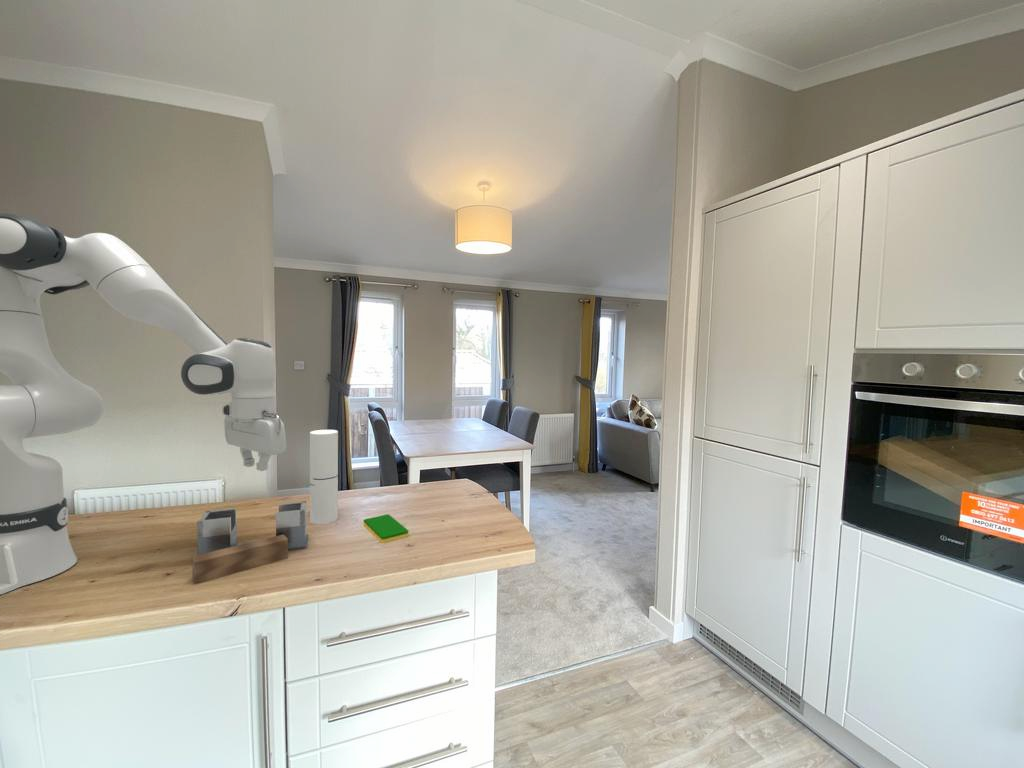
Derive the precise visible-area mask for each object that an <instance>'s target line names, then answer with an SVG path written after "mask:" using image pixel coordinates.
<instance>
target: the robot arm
mask: <svg viewBox="0 0 1024 768" xmlns="http://www.w3.org/2000/svg"><path fill="white" fill-rule="evenodd" d="M88 286H91V287H92V288H93V289H94V290H95V291H96V292H97V293H98V294H99V296H100V297H101V298H102V299H103V300H104V301H105V302H106V303H107V304H108V305H109V306H110V307H111V308H113V309H114V310H116V312H118V313H119V314H122V315H123V316H124V317H126V318H128V319H130V320H133V321H136V322H140V323H142V324H147V325H150V326H153V327H156V328H159V329H162V330H164V331H168V332H170V333H171V334H173V335H175V336H176V337H178V338H179V339H180V340H182V341H183V342H184V343H185V344H186V345H187V346H188V347H189V348H190V349H191V350H192V351H194V352H195V354H193V355H190V356H189V357H188V358H187V359H185V361H184V362H183V363H182V366H181V369H180V377H181V381H182V383H183V385H184V386H185V388H187V389H188V390H189V391H190V392H192V393H194V394H197V395H202V396H215V395H223V394H230V395H231V401H230V402H228V403H227V404H225V405H222V408H221V411H222V412H221V413H222V415H223V416H224V419H223V420H224V422H223V425H224V427H223V428H224V438H225V440H226V443H227V444H228V445H230V446H234V447H238V448H239V452H240V455H241V457H242V459H243V464H242V465H243V466H244V467H245V468H246V467H247V468H250V467H254V466H255V458H254V457H253V453H252V452H256V453H257V454H258V457H259V458H258V462H256V470H257V471H259V472H264V471H267V470H268V469H269V465H268V463H269V461H270V458H271V457H272V456H274V455H281V454H284V453H285V452H286V449H287V435H286V429H285V424H284V422H283V421H282V419H281V418H280V416H279V415H278V413H277V392H276V390H275V383H276V379H277V371H276V370H277V367H276V359H275V351H274V349H273V347H272V346H271V345H270V344H268V343H267V342H265V341H261V340H257V339H250V338H245V337H244V338H242V337H241V338H239V337H238V338H235V339H233V340H232V341H231V342H229V343H227V342H226V341H225V340H224V339H223V338H222V337H221V336H220V335H219V334H217V332H215V331H214V330H213V329H212V327H210V326H209V325H208V323H206V322H205V321H204V320H203V319H202V318H201V317H200V316H199V315H198V314H197V313H195V312H194V311H193V310H192V309H191V307H189V306H188V305H187V303H185V301H184V300H182V299H181V297H179V296H178V295H177V294H176V292H175V291H174V290H173V289H172V288H171V287H170V286H169V285H168V283H166V282H165V281H164V279H163V278H162V277H161V276H160V275H159V274H158V273H157V272H156V271H155V269H154V268H153V267H152V266H151V265H150V264H149V263H148V262H147V261H146V260H145V259H144V258H143V257H142V256H140V254H138V253H137V252H136V251H135V250H134V249H133V248H131V247H130V246H129V245H128V244H126V243H125V242H124V241H123V240H121V239H120V238H118V237H117V236H115V235H113V234H110V233H107V232H106V233H105V232H92V233H87V234H84V235H82V236H79V237H77V238H75V237H74V238H73V237H68V236H66V235H64V234H63V232H62V231H61V230H60V229H58V228H55V227H53V226H50V225H47V224H45V223H42V222H40V221H38V220H36V219H32V218H29V217H27V216H26V217H25V216H21V215H18V214H12V213H0V373H2V374H4V375H5V376H6V377H8V379H9V380H10V381H11V382H12V384H7V385H3V384H0V595H4V594H6V593H8V592H11V591H13V590H14V591H15V590H16V589H19V588H20V587H24V586H27V585H30V584H33V583H37V582H41V581H43V580H46V579H49V578H52V577H54V576H56V575H59V574H61V573H64V572H65V571H67V570H68V569H70V568H72V567H73V566H74V565H75V564H76V563H77V562H78V557H77V556H76V554H75V552H74V549H73V546H72V545H71V541H70V538H69V537H70V536H69V533H68V527H67V525H68V521H69V520H68V519H69V510H68V503H67V501H68V500H67V498H66V497H65V496H64V476H63V467H62V465H61V464H60V462H58V460H55V458H52V457H50V456H45V455H41V454H39V453H38V454H37V453H34V452H33V453H32V452H27V451H26V450H25V447H24V445H23V440H24V439H29V438H39V437H46V436H53V435H60V434H61V435H62V434H69V433H72V432H76V431H78V430H79V431H80V430H82V429H83V430H84V429H87V428H91V427H93V426H95V425H96V424H97V423H98V422H99V421H100V419H101V418H102V415H103V412H104V407H105V406H104V400H103V398H102V396H101V394H100V393H99V392H98V391H97V390H96V389H95V388H93V387H92V386H90V385H88V384H86V383H83V382H81V381H79V380H78V379H76V378H75V377H73V376H72V375H71V374H70V373H69V372H67V371H66V370H65V368H63V367H62V366H61V365H60V363H59V362H58V360H57V359H56V358H55V357H56V356H54V354H53V352H52V349H51V346H50V342H49V339H48V335H47V332H46V327H45V322H44V318H43V312H42V308H41V295H42V294H43V293H46V294H49V295H58V294H62V293H64V292H68V291H73V290H74V291H75V290H78V289H79V290H80V289H82V288H86V287H88Z"/></svg>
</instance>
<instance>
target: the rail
mask: <svg viewBox="0 0 1024 768" xmlns="http://www.w3.org/2000/svg"><path fill="white" fill-rule="evenodd" d="M249 542H250V543H246V544H241V545H237V546H233V547H229V548H225V549H221V550H217V551H213V552H209V553H204V554H200V555H198V554H197V555H193V556H192V560H191V561H192V563H191V564H192V580H193V582H194V583H193V584H194V585H197V584H201V583H205V582H208V581H212V580H215V579H219V578H222V577H226V576H229V575H230V576H231V575H233V574H236V573H237V574H238V573H240V572H244V571H247V570H250V569H251V570H252V569H255V568H258V567H261V566H265V565H268V564H269V565H270V564H272V563H276V562H279V561H283V560H286V559H288V558H289V551H288V539H287V538H286V536H285V535H284V534H283V535H279V536H276V535H275V536H270V537H267V538H262V539H259V540H254V542H253V541H249Z"/></svg>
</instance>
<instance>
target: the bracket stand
mask: <svg viewBox="0 0 1024 768" xmlns="http://www.w3.org/2000/svg"><path fill="white" fill-rule="evenodd" d="M196 523H197V524H196V525H197V526H196V527H197V555H200V554H204V553H209V552H213V551H217V550H221V549H225V548H229V547H233V546H237V545H241V544H246V543H250V542H251V541H245V542H239V543H238V536H237V535H238V530H237V529H238V527H237V526H238V525H237V523H238V522H237V507H233V508H224V509H215V510H214V509H213V510H206V511H204V512H203V514H202V516H201V517H200V518H199V520H198V521H197V522H196ZM283 534H284V535H285V536H286V538H287V539H288V552H290V551H297V550H298V551H299V550H302V549H303V550H305V549H308V545H309V538H310V536H309V535H310V534H308V533H307V500H304V501H295V502H284V503H279V504H278V511H277V512H275V536H279V535H283ZM254 541H255V540H254ZM254 541H252V542H254Z"/></svg>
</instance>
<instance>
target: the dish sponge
mask: <svg viewBox="0 0 1024 768" xmlns="http://www.w3.org/2000/svg"><path fill="white" fill-rule="evenodd" d="M363 526H364V528H365V529H367V531H368V532H369V533H371V535H373V536H374V537H375V538H376V539H377V540H378V541H379V542H380V543H382V544H385V543H388V542H389V543H390V542H393V541H397V540H400V539H404V538H408V537H409V529H407V528H406V527H405V526H404V525H403V524H401V523H400V522H399V521H398V520H396V519H395V518H394V517H393V516H392V515H391V514H382V515H379V516H374V517H369V518H364V519H363Z"/></svg>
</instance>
